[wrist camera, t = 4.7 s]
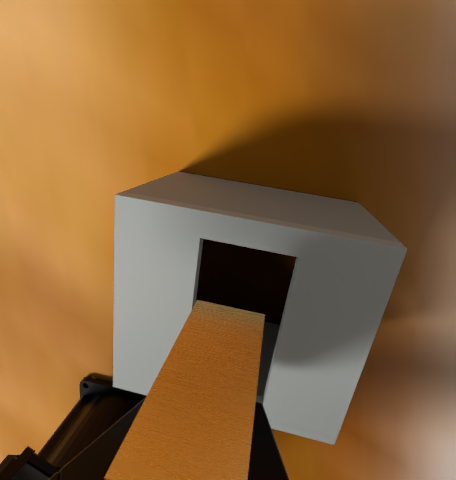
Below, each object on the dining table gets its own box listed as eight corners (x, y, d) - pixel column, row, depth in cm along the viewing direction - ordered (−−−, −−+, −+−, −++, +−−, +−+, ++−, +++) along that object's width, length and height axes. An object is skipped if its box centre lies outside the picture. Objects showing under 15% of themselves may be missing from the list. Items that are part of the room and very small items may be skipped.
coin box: (167, 306, 21) (112, 386, 14) (178, 171, 17) (114, 194, 11) (317, 340, 19) (334, 444, 13) (358, 202, 16) (407, 249, 10)
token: (182, 423, 11) (104, 646, 6) (197, 299, 9) (104, 478, 4) (238, 438, 10) (202, 681, 6) (264, 314, 9) (242, 519, 4)
